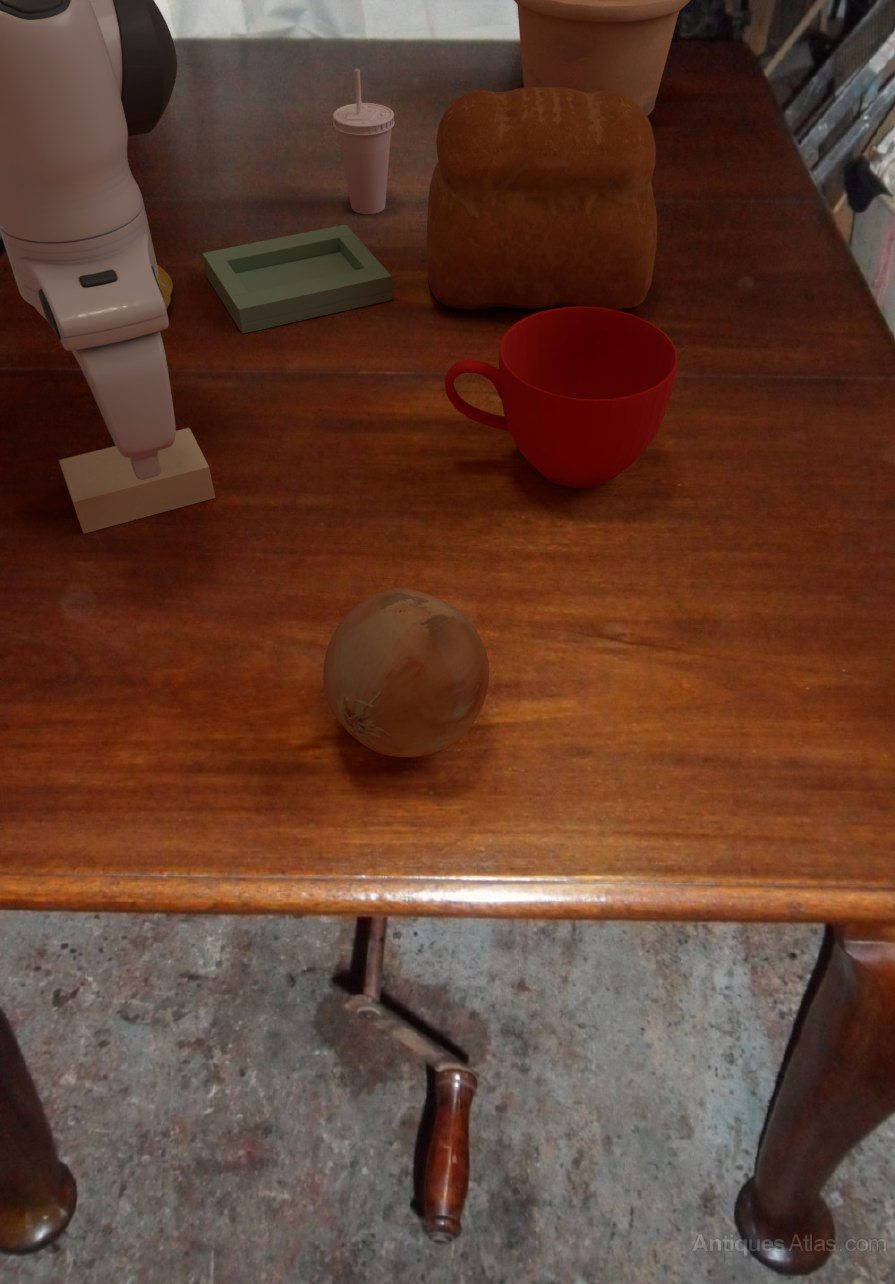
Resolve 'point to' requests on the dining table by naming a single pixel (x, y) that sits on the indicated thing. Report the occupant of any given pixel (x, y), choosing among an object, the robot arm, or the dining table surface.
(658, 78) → the pottery
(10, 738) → the dining table surface
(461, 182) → the bread
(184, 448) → the cream pad
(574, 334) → the ceramic cup
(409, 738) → the mottled brown ball
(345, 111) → the smoothie
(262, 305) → the base pad
